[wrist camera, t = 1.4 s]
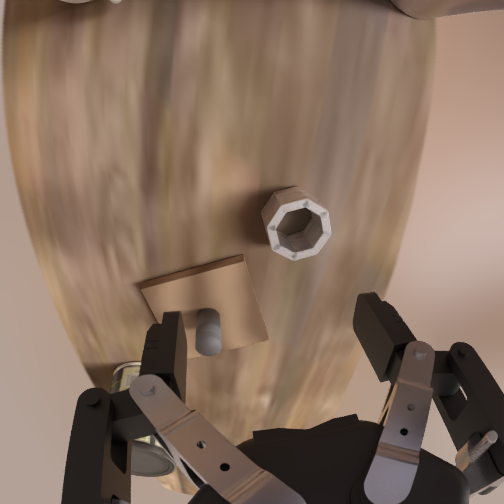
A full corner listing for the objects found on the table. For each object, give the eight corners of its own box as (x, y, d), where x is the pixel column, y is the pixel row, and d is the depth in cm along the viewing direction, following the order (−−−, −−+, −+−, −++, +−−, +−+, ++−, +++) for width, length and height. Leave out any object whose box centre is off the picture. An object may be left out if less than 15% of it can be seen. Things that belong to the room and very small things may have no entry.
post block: (243, 254, 35) (249, 287, 29) (266, 331, 41) (275, 368, 35) (142, 282, 35) (132, 317, 30) (180, 352, 41) (178, 389, 35)
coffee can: (137, 406, 46) (128, 479, 34) (100, 369, 42) (80, 448, 29) (190, 394, 46) (190, 473, 33) (156, 353, 41) (145, 442, 29)
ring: (312, 181, 32) (325, 193, 29) (321, 232, 35) (333, 249, 31) (256, 196, 32) (262, 210, 29) (269, 247, 35) (276, 265, 32)
